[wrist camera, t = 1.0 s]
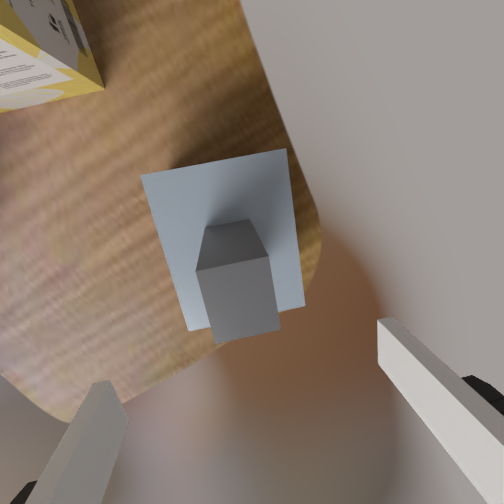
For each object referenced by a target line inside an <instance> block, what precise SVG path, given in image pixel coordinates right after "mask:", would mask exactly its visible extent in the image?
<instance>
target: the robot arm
mask: <svg viewBox="0 0 504 504" xmlns="http://www.w3.org/2000/svg"><path fill="white" fill-rule="evenodd" d="M378 364H379V365H380V367H381V368H382V369H383V370H384V372H385V373H386V374H387V376H388V377H389V378H390V379H391V381H392V382H393V383H394V384H395V386H396V387H397V388H398V390H399V391H400V392H401V393H402V395H403V396H404V397H405V398H406V400H407V401H408V402H409V404H410V405H411V406H412V407H413V409H414V410H415V411H416V412H417V413H418V415H419V416H420V417H421V419H422V420H423V421H424V423H425V424H426V425H427V427H428V428H429V429H430V430H431V432H432V433H433V434H434V435H435V437H436V438H437V439H438V441H440V443H441V444H442V446H443V447H444V448H445V449H446V451H447V452H448V453H449V454H450V456H451V457H452V458H453V460H454V461H455V462H456V463H457V465H458V466H459V467H460V468H461V470H462V471H463V472H464V474H465V475H466V476H467V477H468V479H469V480H470V481H471V483H472V484H473V485H474V486H475V487H476V489H477V490H478V491H479V493H480V494H481V495H482V497H483V498H484V499H485V500H486V502H487V503H488V504H504V396H503V395H502V394H501V393H500V392H498V391H497V390H496V389H495V388H494V387H492V386H491V385H490V384H488V383H486V382H484V381H482V380H480V379H479V378H476V377H475V376H473V375H471V376H467V377H463V378H460V377H459V376H458V375H457V374H456V373H455V372H453V371H452V370H451V369H450V368H449V367H448V366H447V365H446V364H445V363H443V362H442V361H441V360H440V359H439V358H438V357H437V356H436V355H435V354H433V353H432V352H431V351H430V350H429V349H428V348H427V347H426V346H425V345H423V344H422V343H421V342H420V341H419V340H418V339H417V338H416V337H415V336H413V335H412V334H411V333H410V332H409V331H408V330H407V329H406V328H405V327H403V326H402V325H401V324H400V323H399V322H398V321H397V320H396V319H394V318H393V317H388V318H383V319H379V320H378ZM128 424H129V420H128V417H127V415H126V414H125V411H124V409H123V407H122V405H121V403H120V400H119V398H118V396H117V394H116V392H115V390H114V388H113V385H112V383H111V381H110V380H107V381H103V382H98V383H94V384H93V385H92V387H91V389H90V390H89V392H88V394H87V396H86V397H85V399H84V401H83V403H82V404H81V406H80V408H79V410H78V411H77V413H76V415H75V417H74V418H73V420H72V422H71V424H70V426H69V427H68V429H67V431H66V433H65V435H64V436H63V438H62V439H61V441H60V443H59V445H58V447H57V448H56V450H55V452H54V454H53V455H52V457H51V459H50V460H49V462H48V464H47V466H46V468H45V469H44V471H43V473H42V474H41V476H40V478H39V480H37V481H33V482H29V483H27V485H26V486H25V487H24V488H23V489H22V490H21V491H20V492H19V494H18V495H17V496H16V497H15V498H14V499H13V500H12V502H11V503H10V504H101V501H102V498H103V495H104V493H105V490H106V487H107V484H108V481H109V478H110V475H111V473H112V470H113V467H114V464H115V461H116V458H117V455H118V453H119V450H120V447H121V444H122V441H123V438H124V436H125V433H126V430H127V427H128Z"/></svg>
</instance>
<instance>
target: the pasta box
mask: <svg viewBox="0 0 504 504" xmlns="http://www.w3.org/2000/svg"><path fill="white" fill-rule="evenodd" d="M104 89H105V88H104V85H103V82H102V80H101V77H100V74H99V72H98V69H97V66H96V63H95V61H94V58H93V55H92V53H91V50H90V47H89V44H88V42H87V39H86V36H85V33H84V31H83V28H82V25H81V23H80V20H79V17H78V14H77V12H76V9H75V6H74V4H73V1H72V0H0V113H3V112H7V111H12V110H16V109H21V108H25V107H29V106H34V105H38V104H43V103H47V102H51V101H56V100H60V99H64V98H69V97H73V96H78V95H82V94H86V93H91V92H95V91H99V90H104Z"/></svg>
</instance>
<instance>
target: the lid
mask: <svg viewBox="0 0 504 504" xmlns="http://www.w3.org/2000/svg"><path fill="white" fill-rule="evenodd" d="M140 177H141V180H142V183H143V187H144V190H145V193H146V196H147V199H148V203H149V206H150V209H151V212H152V215H153V219H154V222H155V225H156V228H157V231H158V235H159V238H160V241H161V244H162V247H163V251H164V254H165V257H166V260H167V263H168V267H169V270H170V273H171V276H172V279H173V283H174V286H175V289H176V292H177V295H178V299H179V302H180V305H181V308H182V311H183V315H184V318H185V321H186V324H187V327H188V331H193V330H198V329H202V328H207V327H211V330H212V334H213V337H214V341H215V344H217V343H222V342H226V341H231V340H235V339H240V338H244V337H249V336H253V335H258V334H262V333H267V332H271V331H276V330H280V329H281V327H280V321H279V315H278V312H280V311H284V310H289V309H293V308H298V307H302V306H305V300H304V291H303V283H302V275H301V267H300V258H299V250H298V242H297V233H296V225H295V217H294V209H293V200H292V192H291V184H290V176H289V167H288V159H287V151H286V148H284V149H278V150H273V151H268V152H262V153H257V154H252V155H246V156H241V157H236V158H230V159H225V160H220V161H214V162H209V163H204V164H198V165H193V166H188V167H182V168H177V169H172V170H166V171H161V172H156V173H150V174H145V175H140Z"/></svg>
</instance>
